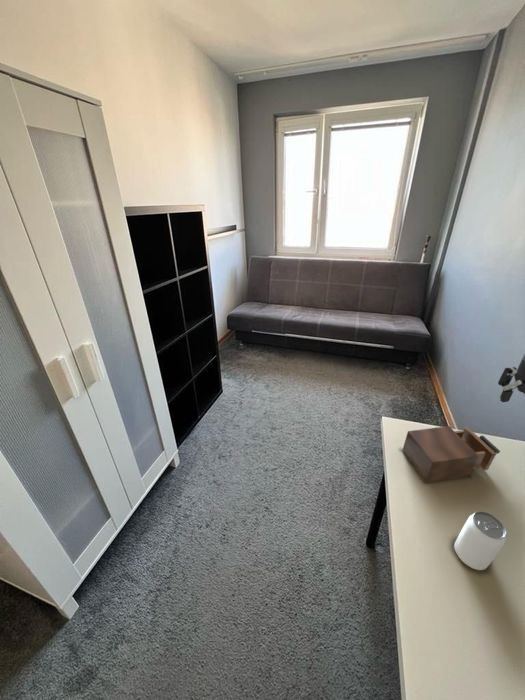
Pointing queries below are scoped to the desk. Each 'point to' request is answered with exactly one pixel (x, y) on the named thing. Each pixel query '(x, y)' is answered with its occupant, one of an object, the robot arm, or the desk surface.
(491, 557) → the can
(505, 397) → the robot arm
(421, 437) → the cabinet
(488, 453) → the drawer
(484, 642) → the desk surface
